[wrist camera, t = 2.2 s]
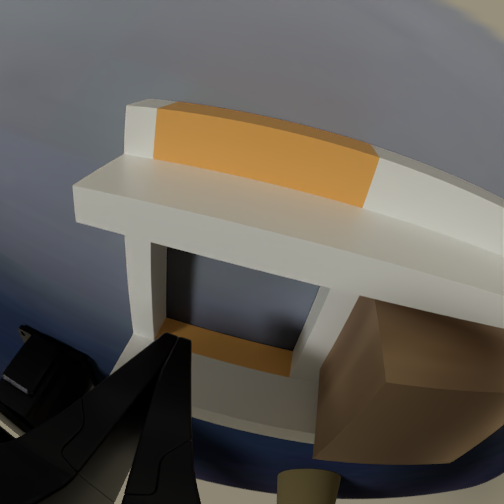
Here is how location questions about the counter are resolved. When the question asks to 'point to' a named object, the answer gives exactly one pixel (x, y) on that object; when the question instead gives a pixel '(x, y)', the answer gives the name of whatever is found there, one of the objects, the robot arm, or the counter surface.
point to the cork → (307, 486)
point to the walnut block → (408, 387)
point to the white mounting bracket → (287, 243)
